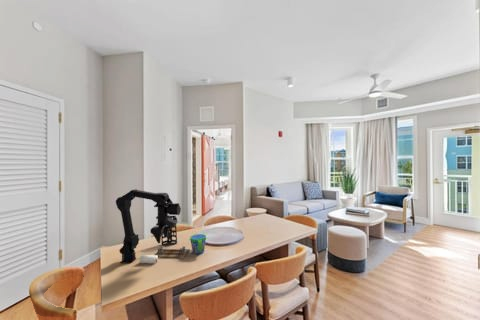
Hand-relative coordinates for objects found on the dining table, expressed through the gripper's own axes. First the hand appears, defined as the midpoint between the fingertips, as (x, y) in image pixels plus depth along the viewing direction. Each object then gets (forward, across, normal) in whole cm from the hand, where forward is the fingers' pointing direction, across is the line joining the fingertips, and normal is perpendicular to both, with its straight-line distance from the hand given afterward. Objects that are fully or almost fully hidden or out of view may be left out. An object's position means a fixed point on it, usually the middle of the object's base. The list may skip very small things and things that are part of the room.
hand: (162, 240), depth 128 cm
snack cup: (+13, +14, -18) cm, 26 cm away
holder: (+13, +29, +7) cm, 33 cm away
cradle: (+13, +11, -2) cm, 17 cm away
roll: (+13, -1, +8) cm, 15 cm away
